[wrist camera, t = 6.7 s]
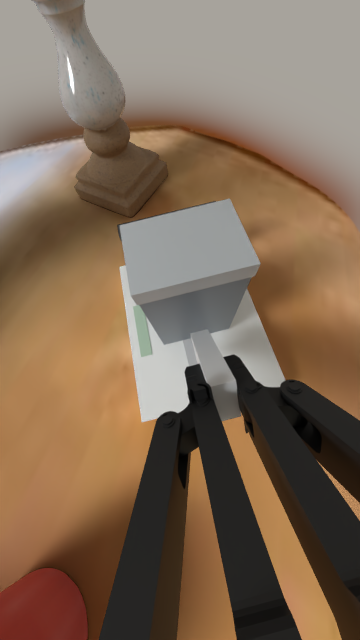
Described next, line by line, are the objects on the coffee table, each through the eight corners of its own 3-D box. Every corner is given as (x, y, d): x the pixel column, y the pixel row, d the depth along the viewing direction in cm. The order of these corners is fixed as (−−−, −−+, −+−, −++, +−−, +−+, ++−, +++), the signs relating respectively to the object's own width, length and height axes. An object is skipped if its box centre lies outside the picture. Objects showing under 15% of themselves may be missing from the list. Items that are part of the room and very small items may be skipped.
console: (281, 386, 20) (325, 379, 13) (145, 420, 20) (118, 432, 13) (225, 248, 27) (235, 196, 20) (123, 273, 27) (97, 229, 20)
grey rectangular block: (230, 329, 21) (260, 263, 11) (163, 346, 21) (130, 295, 11) (215, 287, 23) (229, 198, 13) (154, 302, 23) (119, 225, 13)
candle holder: (132, 219, 30) (-45, -266, 8) (78, 198, 33) (-163, -209, 11) (169, 174, 33) (113, -269, 11) (117, 158, 36) (-10, -223, 14)
